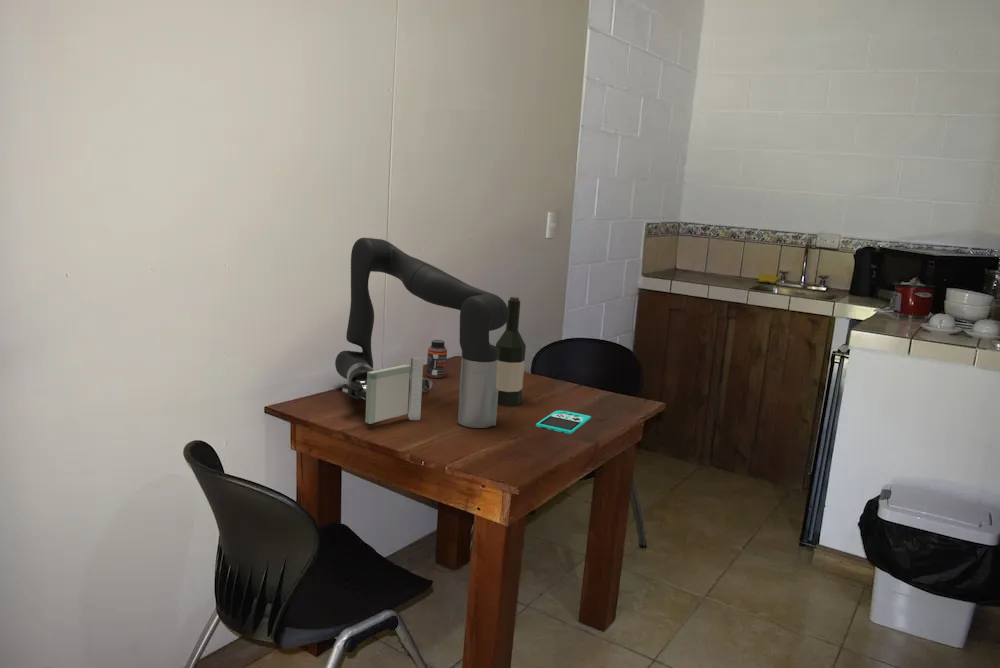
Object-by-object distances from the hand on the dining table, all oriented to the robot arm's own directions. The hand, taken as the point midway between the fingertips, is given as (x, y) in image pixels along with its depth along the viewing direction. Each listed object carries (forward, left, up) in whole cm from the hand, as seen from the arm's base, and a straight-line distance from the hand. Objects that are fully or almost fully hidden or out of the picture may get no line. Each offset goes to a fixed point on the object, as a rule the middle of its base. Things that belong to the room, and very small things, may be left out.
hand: (372, 399), depth 190 cm
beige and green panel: (-4, -2, -5) cm, 7 cm away
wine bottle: (-41, -17, -7) cm, 45 cm away
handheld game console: (-51, +2, -8) cm, 51 cm away
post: (-12, -5, -7) cm, 15 cm away
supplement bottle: (-27, -45, -7) cm, 53 cm away
